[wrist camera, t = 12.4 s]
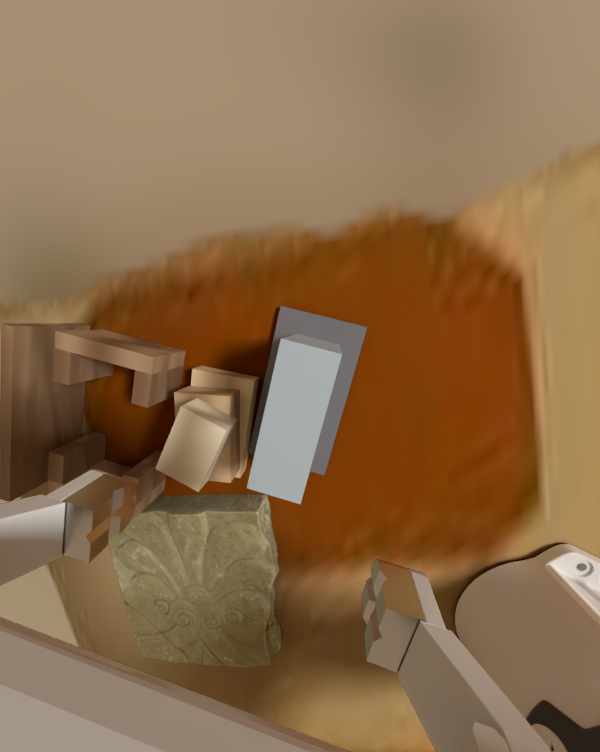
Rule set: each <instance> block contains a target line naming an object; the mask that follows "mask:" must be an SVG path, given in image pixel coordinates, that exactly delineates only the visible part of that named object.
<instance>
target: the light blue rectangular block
mask: <svg viewBox="0 0 600 752" xmlns="http://www.w3.org/2000/svg"><path fill="white" fill-rule="evenodd" d="M341 357H342V351H341V347H340V345H339V344H335V343H331V342H327V341H323V340H320V339H316V338H312V337H308V336H304V335H300V334H295V335H292V336H288V337H284V338H281V340H280V344H279V349H278V353H277V358H276V362H275V366H274V371H273V375H272V380H271V384H270V388H269V393H268V397H267V402H266V406H265V410H264V415H263V419H262V424H261V428H260V432H259V437H258V441H257V445H256V450H255V454H254V459H253V463H252V467H251V472H250V476H249V481H248V485H247V488H248V489H251V490H255V491H258V492H261V493H265V494H268V495H271V496H275V497H278V498H281V499H285V500H288V501H291V502H295V503H298V504H301V501H302V497H303V493H304V490H305V486H306V483H307V479H308V475H309V472H310V468H311V465H312V461H313V458H314V454H315V450H316V447H317V443H318V440H319V436H320V432H321V429H322V425H323V422H324V418H325V414H326V411H327V407H328V404H329V400H330V396H331V393H332V389H333V386H334V382H335V379H336V375H337V371H338V368H339V364H340V361H341Z"/></svg>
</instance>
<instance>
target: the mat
mask: <svg viewBox="0 0 600 752" xmlns="http://www.w3.org/2000/svg"><path fill="white" fill-rule="evenodd" d="M366 330H367V327H364V326H360V325H356V324H352V323H348V322H344V321H340V320H336V319H332V318H328V317H324V316H320V315H316V314H312V313H307V312H303V311H299V310H295V309H291V308H287V307H283V306H280V311H279V315H278V320H277V325H276V329H275V334H274V338H273V343H272V347H271V352H270V356H269V361H268V365H267V370H266V374H265V379H264V384H263V388H262V393H261V397H260V402H259V406H258V411H257V415H256V420H255V424H254V429H253V433H252V438H251V443H250V447H249V452H248V453H249V454H252V455H254V454H255V450H256V445H257V441H258V437H259V432H260V428H261V424H262V419H263V415H264V410H265V406H266V402H267V397H268V393H269V388H270V384H271V380H272V375H273V371H274V366H275V362H276V358H277V353H278V349H279V344H280V340H281V338H284V337H288V336H292V335H295V334H300V335H304V336H308V337H312V338H316V339H320V340H323V341H327V342H331V343H335V344H339V345H340V347H341V351H342V357H341V361H340V364H339V368H338V371H337V375H336V379H335V382H334V386H333V389H332V393H331V396H330V400H329V404H328V407H327V411H326V414H325V418H324V422H323V425H322V429H321V432H320V436H319V440H318V443H317V447H316V450H315V454H314V458H313V461H312V465H311V468H310V471H311V472H314V473H318V474H321V475H325V471H326V468H327V464H328V461H329V458H330V454H331V451H332V447H333V444H334V440H335V437H336V433H337V430H338V427H339V423H340V420H341V416H342V413H343V409H344V406H345V402H346V399H347V396H348V392H349V389H350V385H351V382H352V378H353V375H354V371H355V368H356V364H357V361H358V358H359V354H360V351H361V347H362V344H363V340H364V337H365V333H366Z"/></svg>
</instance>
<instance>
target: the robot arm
mask: <svg viewBox="0 0 600 752" xmlns="http://www.w3.org/2000/svg"><path fill="white" fill-rule="evenodd" d="M137 486H138V485H137V484H136V483H135V482H133V481H130V480H128V479H125V478H122V477H119V476H116V475H113V474H110V473H106V472H104V471H101V470H98V469H93V470H90V471H88V472H86V473H84V474H83V475H81V476H79V477H77V478H76V479H74V480H72V481H71V482H69V483H67V484H65V485H64V486H62V487H60V488H58V489H57V490H55V491H53V492H51V493H50V494H48V495H46V496H45V495H36V496H32V497H28V498H23V499H19V500H14V501H10V502H6V503H1V504H0V585H2V584H5V583H7V582H9V581H11V580H13V579H15V578H17V577H19V576H22V575H24V574H26V573H28V572H30V571H32V570H35V569H37V568H39V567H41V566H43V565H45V564H47V563H50V562H52V561H54V560H56V559H58V558H60V557H62V555H64V556H67V557H71V558H74V559H77V560H80V561H83V562H87V563H90V562H91V561H92V560H93V559H94V558H95V557H96V556H97V555H98V554H99V553H100V552H101V551H102V550H103V549H104V548H105V547H106V546H107V545H108V540H109V538H112V537H114V536H117V535H119V534H120V533H121V532H122V531H123V530H124V529H125V528H126V527H127V525H128V524H129V522H130V521H131V519H132V517H133V514H134V511H135V503H134V501H133V499H132V497H133V496H134V495H136V494H137ZM371 574H372V577H371V578H369V579H368V580H367V581H366V584H365V587H364V591H363V598H362V615H363V618H364V620H365V622H366V623H367V626H366V629H365V632H364V640H365V652H366V661H368V662H370V663H373V664H376V665H378V666H381V667H383V668H386V669H388V670H391V671H394V672H396V673H398V677H399V679H400V681H401V683H402V685H403V687H404V689H405V691H406V693H407V695H408V697H409V699H410V701H411V703H412V705H413V707H414V709H415V711H416V713H417V715H418V717H419V719H420V721H421V723H422V725H423V727H424V729H425V731H426V733H427V735H428V737H429V739H430V741H431V743H432V745H433V747H434V749H435V751H436V752H600V559H599V558H597V557H595V556H593V555H591V554H589V553H587V552H585V551H583V550H581V549H578V548H576V547H574V546H572V545H569V544H560V545H557V546H554V547H552V548H550V549H548V550H546V551H544V552H543V553H541V554H539V555H538V556H536V557H534V558H531V559H527V560H522V561H516V562H511V563H507V564H504V565H501V566H498V567H495V568H493V569H491V570H489V571H487V572H485V573H484V574H482V575H481V576H479V577H478V578H476V579H475V580H474V581H473V582H472V583H471V584H470V585H469V586H468V587H467V588H466V589H465V591H464V592H463V594H462V595H461V597H460V599H459V601H458V604H457V607H456V612H455V626H456V631H457V634H458V636H459V639H460V640H459V639H458V638H457V637H456V636H455V634H454V633H453V632H452V631H450V630H447V629H446V627H445V624H444V622H443V619H442V616H441V613H440V611H439V608H438V605H437V602H436V599H435V597H434V594H433V591H432V588H431V585H430V583H429V580H428V577H427V575H426V574H425V573H423V572H420V571H416V570H413V569H410V568H405V567H402V566H399V565H395V564H392V563H389V562H386V561H382V560H379V559H375V560H374V561H373V564H372V567H371ZM460 641H461V642H462V643H461V642H460ZM0 752H351V751H348V750H345V749H343V748H340V747H338V746H335V745H332V744H330V743H327V742H324V741H322V740H319V739H317V738H314V737H311V736H309V735H306V734H304V733H301V732H298V731H296V730H293V729H290V728H288V727H285V726H283V725H280V724H277V723H275V722H272V721H270V720H267V719H264V718H262V717H259V716H256V715H254V714H251V713H249V712H246V711H243V710H241V709H238V708H236V707H233V706H230V705H228V704H225V703H222V702H220V701H217V700H215V699H212V698H209V697H207V696H204V695H202V694H199V693H196V692H194V691H191V690H188V689H186V688H183V687H181V686H178V685H175V684H173V683H170V682H168V681H165V680H163V679H160V678H157V677H155V676H152V675H150V674H147V673H144V672H142V671H139V670H137V669H134V668H131V667H129V666H126V665H124V664H121V663H118V662H116V661H113V660H111V659H108V658H105V657H103V656H100V655H98V654H95V653H92V652H90V651H87V650H85V649H82V648H79V647H77V646H74V645H72V644H69V643H66V642H64V641H61V640H59V639H56V638H53V637H51V636H48V635H45V634H43V633H40V632H38V631H35V630H33V629H30V628H27V627H24V626H22V625H20V624H17V623H14V622H12V621H9V620H6V619H4V618H1V617H0Z"/></svg>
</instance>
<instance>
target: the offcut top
mask: <svg viewBox="0 0 600 752" xmlns="http://www.w3.org/2000/svg"><path fill="white" fill-rule="evenodd" d="M237 421H238V419H236V418H234V417H232V416H230V415H228V414H226V413H224V412H222V411H221V410H219V409H217V408H215V407H213V406H211V405H209V404H207V403H205V402H204V401H202V400H200V399H198V398H196V399H194V400H192V401H190V402H188V403H186V404H184V405H182V406H181V407H180V410H179V412H178V414H177V417H176V419H175V422H174V424H173V427H172V429H171V432H170V434H169V436H168V439H167V441H166V444H165V446H164V449H163V451H162V453H161V456H160V458H159V461H158V463H157V466H156V468H155V469H157V470H158V471H160V472H162V473H164V474H166V475H168V476H170V477H171V478H173V479H175V480H177V481H179V482H181V483H182V484H184V485H186V486H188V487H190V488H192V489H194V490H195V491H197V492H199V490H200V489H201V488H202V487H203V486H204V484H205V483H206V482H207V481H208V480H209V479H210V477H211V476H212V474H213V472H214V470H215V468H216V466H217V464H218V462H219V459H220V457H221V455H222V453H223V451H224V449H225V447H226V444H227V442H228V440H229V438H230V436H231V434H232V432H233V430H234V427H235V425H236V423H237Z"/></svg>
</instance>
